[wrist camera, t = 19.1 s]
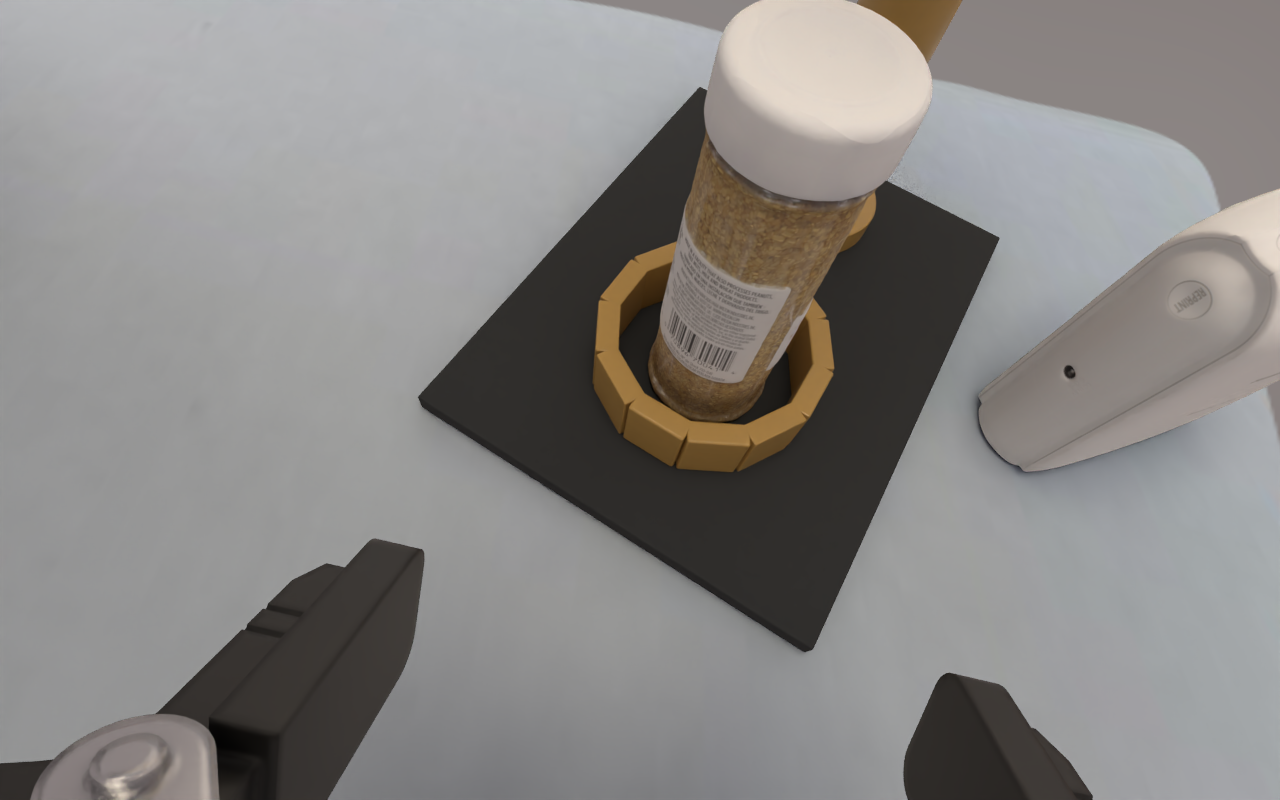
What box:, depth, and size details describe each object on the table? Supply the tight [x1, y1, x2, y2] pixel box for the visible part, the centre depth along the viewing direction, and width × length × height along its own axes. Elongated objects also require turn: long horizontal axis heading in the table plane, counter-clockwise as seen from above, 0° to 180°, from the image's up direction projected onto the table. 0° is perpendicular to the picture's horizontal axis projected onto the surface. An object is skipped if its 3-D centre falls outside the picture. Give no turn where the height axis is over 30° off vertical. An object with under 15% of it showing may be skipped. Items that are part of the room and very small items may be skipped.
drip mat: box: [418, 87, 999, 652], centre depth 27 cm, size 16×21×1 cm
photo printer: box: [979, 189, 1280, 472], centre depth 22 cm, size 10×4×12 cm, turn 109°
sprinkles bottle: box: [648, 0, 933, 423], centre depth 19 cm, size 5×4×13 cm
